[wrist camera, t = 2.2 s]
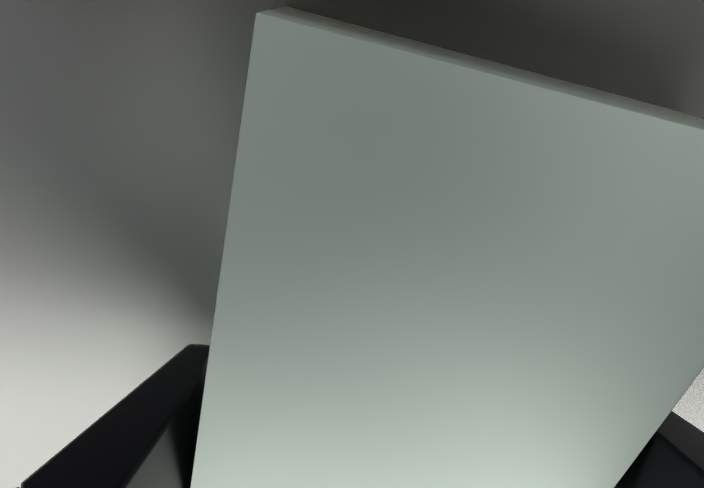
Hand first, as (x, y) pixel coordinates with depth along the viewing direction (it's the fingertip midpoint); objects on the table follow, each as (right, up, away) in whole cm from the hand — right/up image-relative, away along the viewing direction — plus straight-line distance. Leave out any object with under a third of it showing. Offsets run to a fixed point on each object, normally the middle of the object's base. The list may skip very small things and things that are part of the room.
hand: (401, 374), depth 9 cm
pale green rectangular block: (0, +1, +1) cm, 1 cm away
